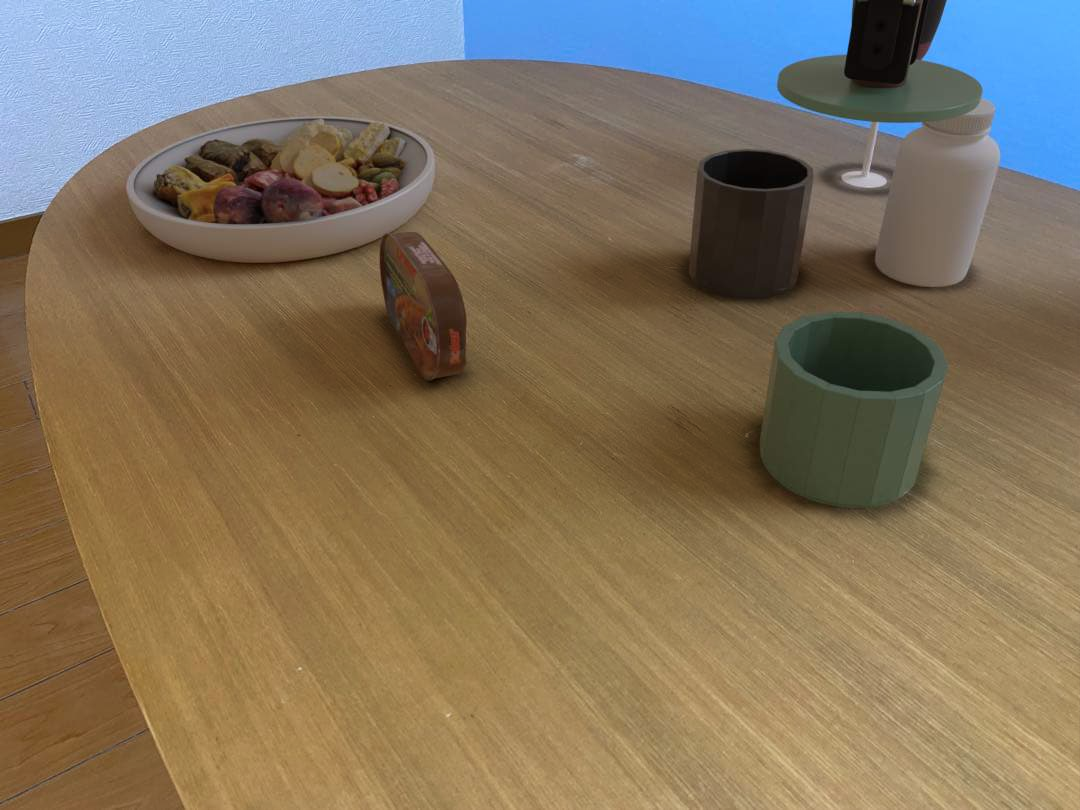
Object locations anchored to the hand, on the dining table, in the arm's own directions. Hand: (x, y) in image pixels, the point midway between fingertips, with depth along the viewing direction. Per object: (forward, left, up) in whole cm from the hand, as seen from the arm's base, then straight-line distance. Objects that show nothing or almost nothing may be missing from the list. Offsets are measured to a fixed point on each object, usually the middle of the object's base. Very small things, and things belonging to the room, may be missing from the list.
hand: (880, 67), depth 52 cm
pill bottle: (-24, -11, -24) cm, 36 cm away
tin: (+19, -24, -24) cm, 39 cm away
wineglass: (-36, -28, -24) cm, 52 cm away
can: (+3, +4, -24) cm, 25 cm away
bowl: (+18, -56, -24) cm, 63 cm away
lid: (0, 0, -1) cm, 1 cm away
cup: (-10, -19, -24) cm, 32 cm away
